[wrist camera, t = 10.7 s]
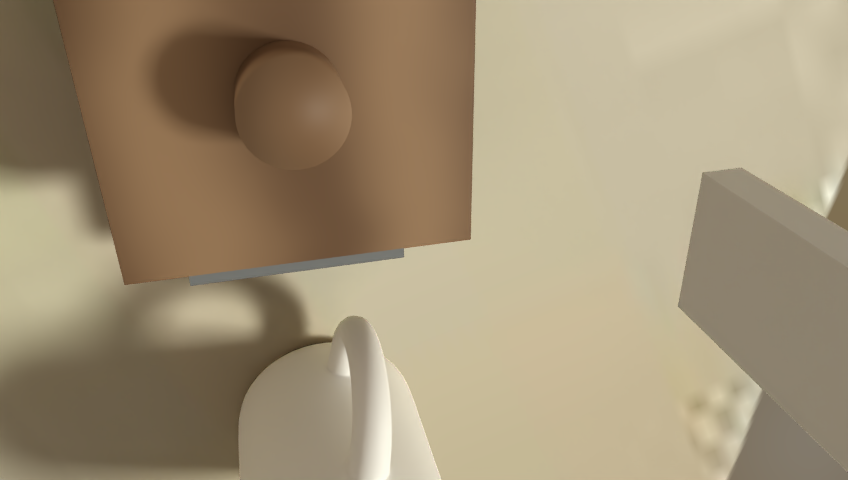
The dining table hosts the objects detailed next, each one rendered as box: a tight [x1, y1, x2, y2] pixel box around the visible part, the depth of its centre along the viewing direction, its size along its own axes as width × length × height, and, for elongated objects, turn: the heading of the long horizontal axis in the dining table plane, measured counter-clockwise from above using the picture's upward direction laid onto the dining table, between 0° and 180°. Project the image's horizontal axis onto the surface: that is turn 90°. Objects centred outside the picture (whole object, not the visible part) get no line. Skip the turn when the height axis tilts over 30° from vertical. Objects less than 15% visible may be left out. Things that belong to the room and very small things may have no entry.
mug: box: [238, 316, 441, 480], centre depth 30 cm, size 12×8×10 cm
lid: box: [53, 0, 476, 285], centre depth 21 cm, size 11×11×6 cm
